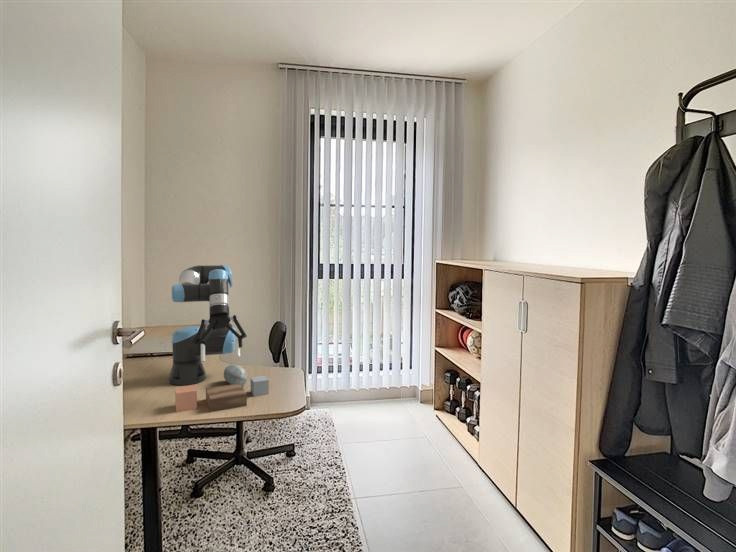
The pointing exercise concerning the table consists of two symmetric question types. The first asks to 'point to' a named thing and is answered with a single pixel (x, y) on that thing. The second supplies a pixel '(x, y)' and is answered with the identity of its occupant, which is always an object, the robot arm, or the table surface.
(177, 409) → the terracotta cube
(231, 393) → the walnut block
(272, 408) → the table surface
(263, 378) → the grey cube
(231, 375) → the yarn skein
